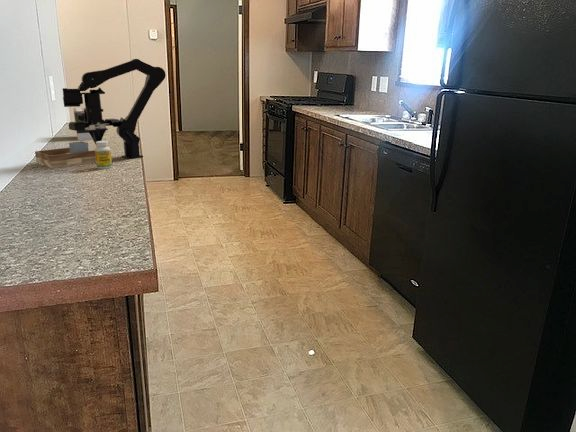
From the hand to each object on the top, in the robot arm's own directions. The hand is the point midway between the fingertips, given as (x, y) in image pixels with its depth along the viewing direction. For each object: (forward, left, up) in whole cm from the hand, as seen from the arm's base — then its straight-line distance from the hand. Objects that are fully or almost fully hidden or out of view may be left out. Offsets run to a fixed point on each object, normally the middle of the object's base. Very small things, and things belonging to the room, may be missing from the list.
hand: (97, 146), depth 186 cm
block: (0, +8, -3) cm, 8 cm away
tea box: (+58, -24, -6) cm, 63 cm away
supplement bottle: (-16, +6, -6) cm, 18 cm away
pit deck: (+3, +10, -5) cm, 12 cm away
